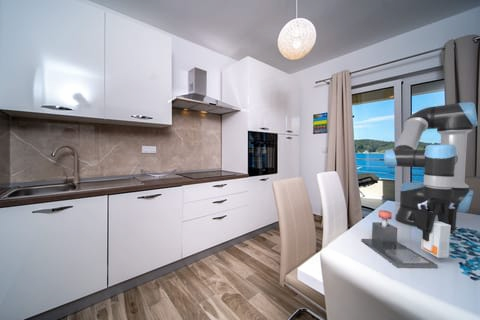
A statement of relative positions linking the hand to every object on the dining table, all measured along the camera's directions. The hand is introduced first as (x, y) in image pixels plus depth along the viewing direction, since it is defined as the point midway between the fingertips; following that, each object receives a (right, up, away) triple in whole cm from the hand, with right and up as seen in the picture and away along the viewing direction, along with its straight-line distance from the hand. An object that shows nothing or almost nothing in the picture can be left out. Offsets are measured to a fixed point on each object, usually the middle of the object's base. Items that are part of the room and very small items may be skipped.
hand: (434, 248), depth 68 cm
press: (-10, -4, +5) cm, 13 cm away
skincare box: (0, -2, 0) cm, 2 cm away
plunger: (-10, 0, +11) cm, 15 cm away
